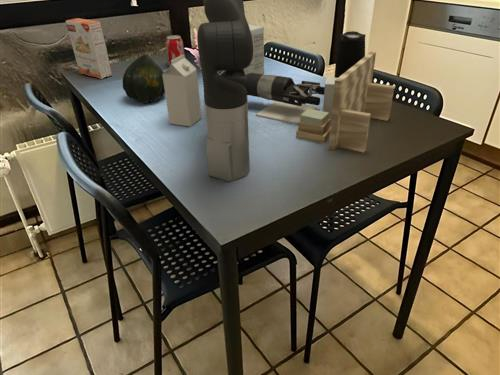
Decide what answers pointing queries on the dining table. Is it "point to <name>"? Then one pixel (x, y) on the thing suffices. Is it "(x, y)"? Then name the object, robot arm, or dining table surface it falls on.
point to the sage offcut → (314, 117)
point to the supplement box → (256, 51)
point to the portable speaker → (349, 51)
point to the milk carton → (182, 92)
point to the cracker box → (89, 47)
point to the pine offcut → (313, 136)
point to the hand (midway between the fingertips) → (325, 96)
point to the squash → (144, 80)
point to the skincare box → (329, 96)
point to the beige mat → (284, 112)
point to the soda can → (174, 47)
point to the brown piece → (358, 105)
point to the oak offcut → (314, 128)
